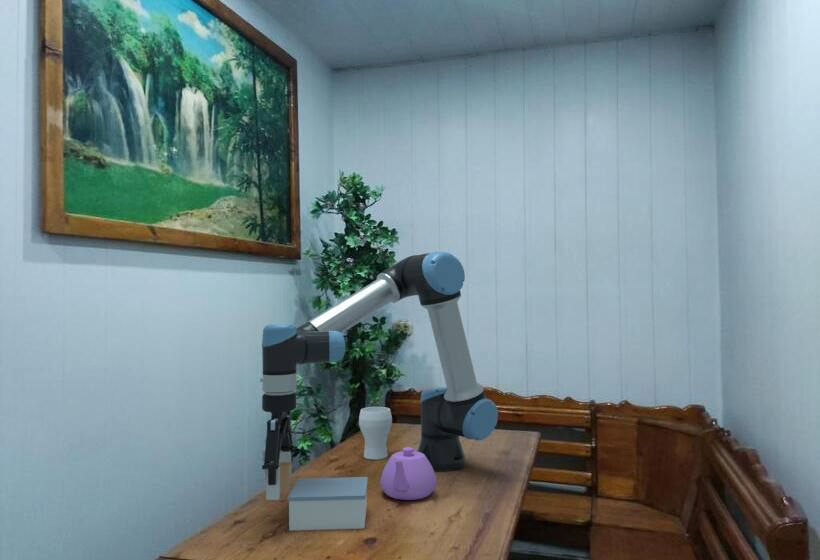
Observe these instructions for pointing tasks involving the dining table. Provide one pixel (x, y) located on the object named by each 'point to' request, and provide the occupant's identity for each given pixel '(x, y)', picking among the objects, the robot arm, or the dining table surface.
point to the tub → (327, 514)
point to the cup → (375, 431)
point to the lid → (321, 487)
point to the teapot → (408, 475)
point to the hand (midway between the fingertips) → (279, 489)
